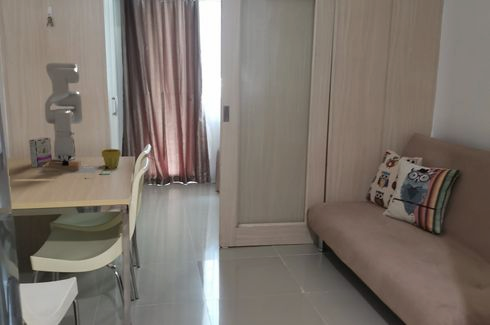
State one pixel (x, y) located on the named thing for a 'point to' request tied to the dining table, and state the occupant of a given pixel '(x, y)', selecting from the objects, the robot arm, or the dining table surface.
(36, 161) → the candy bar box
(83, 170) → the deck
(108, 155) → the plant pot
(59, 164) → the frame
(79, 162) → the cube
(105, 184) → the dining table surface
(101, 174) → the pad
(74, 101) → the robot arm
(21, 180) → the dining table surface
